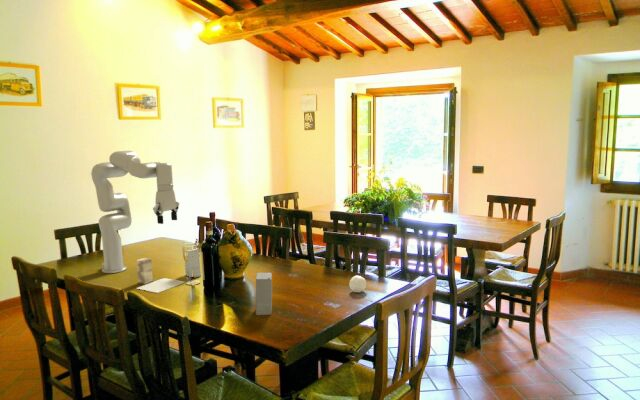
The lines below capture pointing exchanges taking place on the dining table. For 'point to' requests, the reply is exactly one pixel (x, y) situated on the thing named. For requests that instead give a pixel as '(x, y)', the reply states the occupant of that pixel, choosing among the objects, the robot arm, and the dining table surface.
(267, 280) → the skincare box
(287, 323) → the dining table surface
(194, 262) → the skincare box
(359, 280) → the geometric ball
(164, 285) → the mat
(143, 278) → the birch block
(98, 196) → the robot arm
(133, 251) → the dining table surface
